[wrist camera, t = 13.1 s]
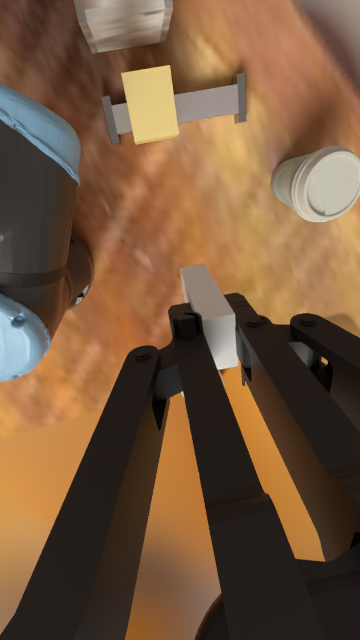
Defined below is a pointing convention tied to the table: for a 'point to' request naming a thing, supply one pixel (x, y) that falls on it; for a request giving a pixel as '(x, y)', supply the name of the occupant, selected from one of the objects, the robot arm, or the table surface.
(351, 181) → the coffee cup
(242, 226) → the table surface
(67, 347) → the table surface
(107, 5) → the grey open box
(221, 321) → the robot arm
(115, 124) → the rail
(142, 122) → the carriage
